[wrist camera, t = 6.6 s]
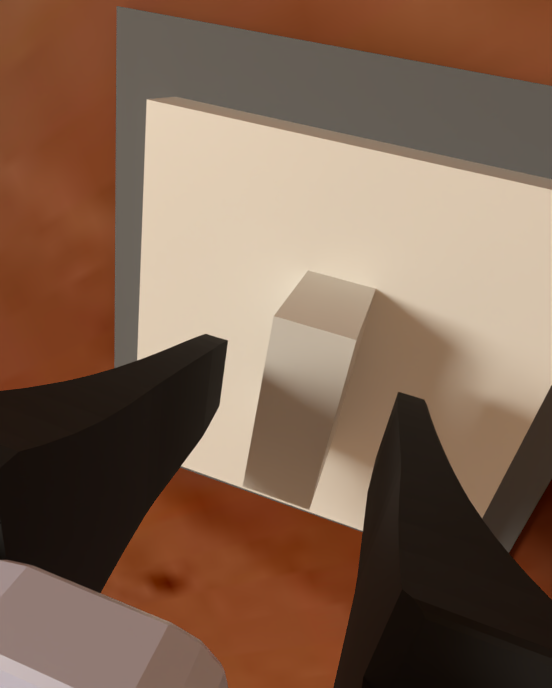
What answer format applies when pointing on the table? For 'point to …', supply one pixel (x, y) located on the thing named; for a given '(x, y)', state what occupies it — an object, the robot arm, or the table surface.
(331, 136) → the lid
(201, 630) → the table surface
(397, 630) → the robot arm
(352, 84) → the mat
